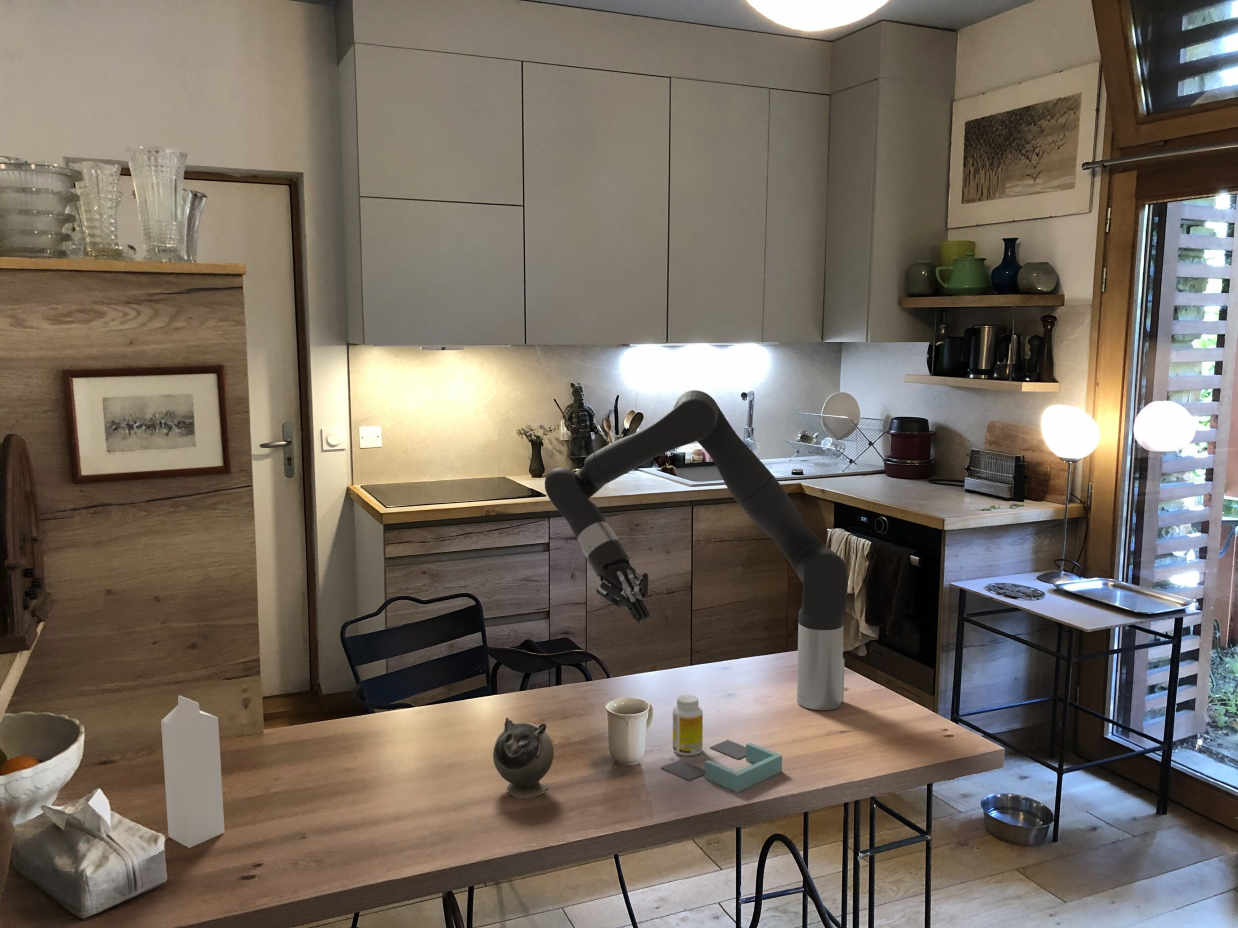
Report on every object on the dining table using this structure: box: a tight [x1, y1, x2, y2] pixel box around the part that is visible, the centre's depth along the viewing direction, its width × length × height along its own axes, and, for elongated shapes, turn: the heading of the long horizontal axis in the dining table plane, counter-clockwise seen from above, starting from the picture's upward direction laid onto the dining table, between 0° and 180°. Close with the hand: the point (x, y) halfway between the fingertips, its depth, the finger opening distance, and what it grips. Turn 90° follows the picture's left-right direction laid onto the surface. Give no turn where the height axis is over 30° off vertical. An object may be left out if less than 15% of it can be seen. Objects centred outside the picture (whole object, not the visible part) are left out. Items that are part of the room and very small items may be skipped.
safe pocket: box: [704, 742, 783, 793], centre depth 171 cm, size 12×8×3 cm, turn 132°
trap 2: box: [709, 739, 746, 760], centre depth 182 cm, size 5×7×1 cm
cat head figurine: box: [492, 717, 555, 799], centre depth 165 cm, size 10×12×10 cm
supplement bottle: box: [672, 694, 704, 757], centre depth 181 cm, size 6×6×10 cm
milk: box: [160, 695, 225, 849], centre depth 150 cm, size 6×6×22 cm
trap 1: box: [660, 758, 705, 782], centre depth 173 cm, size 5×7×1 cm
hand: (644, 619), depth 190 cm, fingers closed
